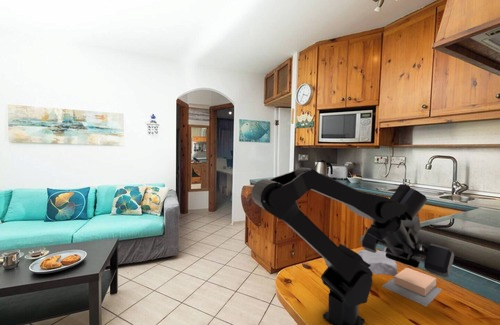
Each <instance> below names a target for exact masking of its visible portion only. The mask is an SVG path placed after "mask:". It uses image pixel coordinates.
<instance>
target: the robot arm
mask: <svg viewBox="0 0 500 325" xmlns="http://www.w3.org/2000/svg"><path fill="white" fill-rule="evenodd" d="M310 190H311V191H313V192H315V193H318V194H320V195H322V196H325V197H327V198H329V199H331V200H334V201H337V202H339V203H342V204H343V205H344V206H345V207H347V208H348V209H349V210H350V211H351V212H352V213H355V215H357V216H359V217H362V218H365V219H367V220H372V224H371V225H370V226H369V227H368V228H366V230H365V232H364V235H363V237H362V239H361V241H360V242H361V244H360V245H361V246H362V248H363V250H367V251H370V252H373V253H375V252H376V251H378V249H377V246H378V245H381V246H383V247H384V248H383V251H384V252H385V253H386V257H387V258H389V259H392V260H394V261H395V262H396V263H397V262H398V263H401V264H403V265H405V266H408V267H412V268H416V269H418V268H419V267H420V264H421V263H423V264H424V266H423V268H424V269H425V270H426V271H427V272H429V273H430V274H434V275H437V276H438V277H443V278H448V277H450V274H451V270H452V267H453V264H454V258H455V254H454V251H453V250H452V249H451V248H450V247H446V246H443V245H438V244H435V243H430V244H429V246H428V248H427V251H425V248H424V246H423V244H421V243H419V242H418V241H419V238H418V236H417V235H418V234H419V232H420V230H421V229H422V227H421V226H422V225H421V222H420V221H421V220H420V217H419V216H417V215H418V214H419V212H421V210H422V209H423V207H424V206H425V205H426V203H427V201H428V199H427V196H426V195H425V194H422V193H421V192H420V191H418V190H416V189H414V188H412V187H411V186H410V185H409V184H404V183H403V184H402V183H400V184H399V185H398V186H397V189H396V190H395V191H394V193H393V194H392V195H391V197H387V196H383V195H379V194H375V193H369V192H365V191H361V190H358V189H356V188H354V187H351V186H349V185H347V184H345V183H342V182H340V181H338V180H335V179H333V178H331V177H329V176H327V175H324V174H323V173H320V172H319V171H317V170H316V169H314V168H311V167H298V168H296V169H294V170H292V171H290V172H287V173H284V174H281V175H278V176H276V177H273V178H271V179H267V178H266V179H265V178H263V179H260V180H258V181H256V183H254V184H253V186H252V189H251V199H252V201H253V202H254V203H255V204H256V205H258V206H259V207H260V208H261V209H263V210H264V211H266V212H267V213H269V214H271V215H272V216H273V217H275V218H277V219H279V220H280V221H282V222H284V223H285V225H287V226H288V227H289V228H290V229H291V230H293V231H294V232H295V234H297V235H298V236H299V237H300V238H301V239H302V240H303V241H305V243H306V244H308V245H309V246H310V247H311V248H312V249H313V250H314V251H315V252H316V253H317V254H318V255H319V256H320V257H321V258H322V259H323V260H324V262H325V264H326V267H327V268H325V270H324V271H323V273H322V274H321V275H320V280H321V281H322V284H323V285H324V286H326V287H327V288H328V289H329V293H328V295H327V296H328V311H326V312H324V313H323V314H322V318H323V319H324V320H325V321H326V322H328V323H329V324H331V325H364V324H365V323H366V319H365V318H364V317H361V316H360V315H359V305H362V304H363V305H364V304H366V303H367V302H368V298H369V296H370V291H371V289H372V285H373V275H374V274H373V273H372V271H371V270H370V268H368V267H370V266H371V265H370V264H368V263H367V262H365V261H364V260H363V259H362V257H361V256H360V255H359V254H358V253H357V252H356V251H354V250H352V249H350V248H349V247H347V246H346V245H344V244H342V243H339V244H338V245H337V244H336V243H334V241H333V240H331V238H329V236H327V235H326V234H325V232H324V231H322V230H321V229H320V228H319V227H318V226H317V225H316V224H315V223H314V222H313V221H312V220H311V219H310V218H309V217H308V216H306V214H305V213H304V212H303V211H302V210H301V209H300V207H299V205H298V202H297V201H298V200H299V199H301V198H302V197H303V196H304V195H305V194H306V193H307V192H308V191H310Z"/></svg>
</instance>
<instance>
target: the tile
mask: <svg viewBox="0 0 500 325" xmlns="http://www.w3.org/2000/svg"><path fill="white" fill-rule="evenodd" d="M393 278H394V283H395V284H396V285H399V286H401V287H403V288H406V289H408V290H410V291H413V292H415V293H417V294H420V295H422V296H426V295H427V294H428V293H429V292H430V291H431V290H432V289H433V288H434V287H436V286H437V278H436V277H434V276H431V275H429V274H425V273H423V272H421V271H417V270H415V269H412V268H409V267H405V268H404V269H402V270H401V271H399V272H397V275H393Z"/></svg>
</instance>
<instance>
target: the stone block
mask: <svg viewBox="0 0 500 325" xmlns="http://www.w3.org/2000/svg"><path fill="white" fill-rule="evenodd" d="M356 253H358V254H359V255H360V256H361V257H362V259H363V260H364V261H365V262H367V263H368V264H370V265H371V266H370V267H368V268H370V270H371V271H372V273H373V275H386V276H395V275H397V274H398V265H397V261H394V260H392V259H389V258H387V257H386V253H385V252H384V250H383V251H382V250H381V251H380V250H377V251H376V252H375V253H373V252H370V251H367V250H365V249H362V250H358V251H357V252H356Z"/></svg>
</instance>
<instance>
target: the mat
mask: <svg viewBox="0 0 500 325" xmlns="http://www.w3.org/2000/svg"><path fill="white" fill-rule="evenodd" d="M381 287H383V288H384V289H387V290H389V291H391V292H393V293H396V294H397V295H400V296H402V297H404V298H406V299H408V300H411V301H413V302H415V303H418V304H420V305H422V306H424V307H428V306H429V305H430V303H432V302H433V300H435V298H436V297H437V296H439V294H440V293H441V292H442V291H443V289H442V288H440V287H436V286H435V287H434V288H433V289H432V290H431V291H430V292H429V293H428V294H427V295H426V296H422V295H420V294H417V293H415V292H413V291H410V290H408V289H406V288H403V287H401V286H399V285H396V284H395V283H394V277H393V278H391V279H390V280H388V281H386V282H385V284H382V286H381Z"/></svg>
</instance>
